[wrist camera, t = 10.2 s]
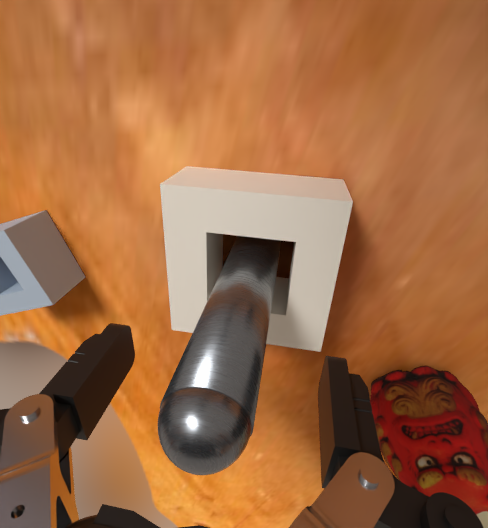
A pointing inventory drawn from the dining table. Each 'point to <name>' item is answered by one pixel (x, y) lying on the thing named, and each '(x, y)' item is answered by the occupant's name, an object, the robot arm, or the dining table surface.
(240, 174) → the white square-hole block
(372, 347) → the dining table surface
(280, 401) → the dining table surface
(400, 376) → the red clay folk toy
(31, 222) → the blue-grey square-hole block
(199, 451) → the grey metal peg
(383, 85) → the dining table surface
